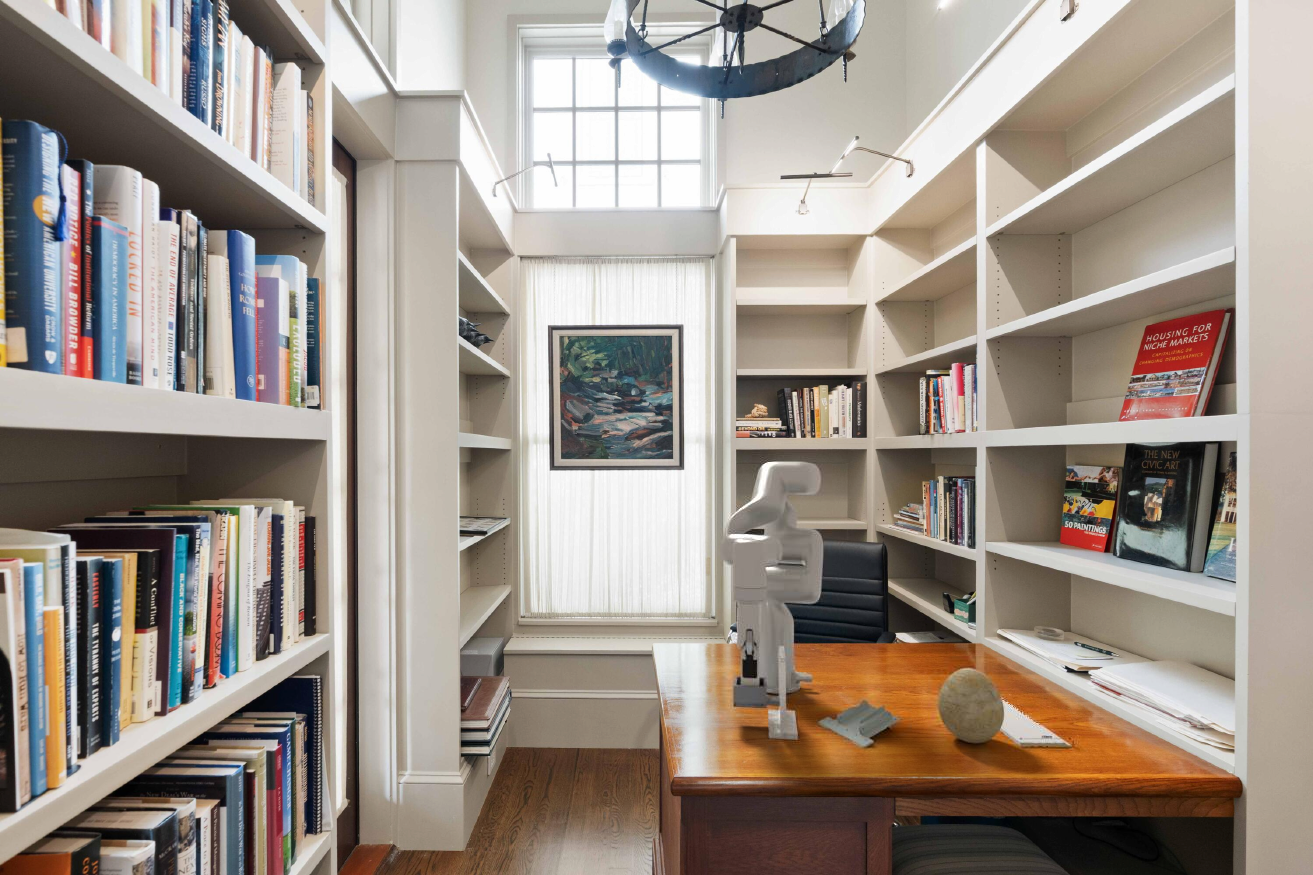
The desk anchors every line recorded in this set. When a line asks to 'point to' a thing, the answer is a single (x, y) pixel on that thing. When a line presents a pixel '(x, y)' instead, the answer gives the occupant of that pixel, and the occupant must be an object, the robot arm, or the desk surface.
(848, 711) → the metal bracket
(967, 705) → the fossilized egg
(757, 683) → the cream rectangular beam
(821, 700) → the desk surface
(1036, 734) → the baseboard
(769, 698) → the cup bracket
